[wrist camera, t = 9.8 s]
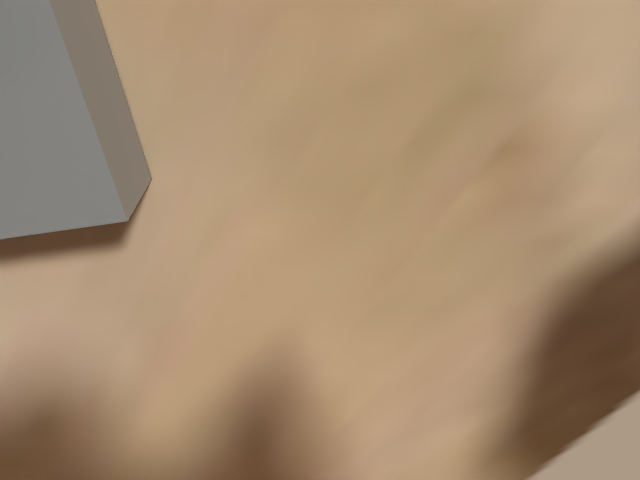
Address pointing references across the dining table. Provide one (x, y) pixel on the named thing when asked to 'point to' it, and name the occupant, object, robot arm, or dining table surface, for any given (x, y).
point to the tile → (63, 122)
